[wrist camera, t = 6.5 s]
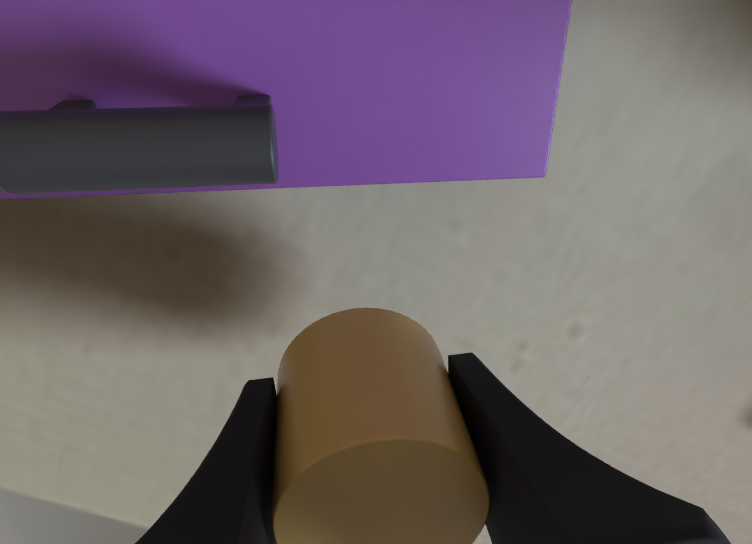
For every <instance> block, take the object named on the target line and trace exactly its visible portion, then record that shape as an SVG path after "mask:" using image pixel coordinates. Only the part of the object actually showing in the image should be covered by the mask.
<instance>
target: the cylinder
mask: <svg viewBox="0 0 752 544" xmlns="http://www.w3.org/2000/svg"><path fill="white" fill-rule="evenodd" d="M489 506H490V492H489V488H488V484H487V481H486V478H485V476H484V473H483V470H482V467H481V464H480V462H479V459H478V456H477V453H476V450H475V448H474V445H473V442H472V439H471V436H470V434H469V431H468V428H467V425H466V423H465V420H464V417H463V414H462V411H461V409H460V406H459V403H458V400H457V397H456V395H455V392H454V389H453V386H452V383H451V381H450V378H449V375H448V372H447V369H446V367H445V364H444V361H443V358H442V356H441V353H440V350H439V348H438V346H437V344H436V342H435V340H434V339H433V337H432V336H431V335H430V334H429V333H428V332H427V330H426V329H425V328H423V327H422V326H421V325H420V324H418V323H417V322H415V321H414V320H412V319H410V318H409V317H406V316H404V315H402V314H399V313H396V312H393V311H389V310H384V309H378V308H356V309H349V310H344V311H340V312H337V313H333V314H331V315H328V316H326V317H323V318H321V319H320V320H318V321H316V322H314V323H312V324H311V325H310V326H308V327H307V328H305V329H304V330H303V331H302V332H301V333H300V334H299V335H298V336H297V337H296V338H295V339H294V340H293V341H292V342H291V344H290V345H289V346H288V348H287V350H286V351H285V353H284V355H283V357H282V360H281V362H280V366H279V370H278V383H277V409H276V432H275V453H274V477H273V500H272V532H273V536H274V539H275V542H276V544H472V543H473V542H474V541H475V539H476V538H477V537H478V535H479V534H480V532H481V530H482V528H483V526H484V525H485V522H486V519H487V516H488V513H489Z"/></svg>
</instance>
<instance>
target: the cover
mask: <svg viewBox="0 0 752 544" xmlns="http://www.w3.org/2000/svg"><path fill="white" fill-rule="evenodd" d="M571 3H572V0H0V200H3V199H28V198H52V197H76V196H100V195H125V194H149V193H173V192H197V191H222V190H246V189H270V188H294V187H319V186H343V185H367V184H391V183H416V182H440V181H464V180H488V179H513V178H537V177H545V176H546V171H547V164H548V157H549V151H550V144H551V137H552V130H553V124H554V117H555V110H556V103H557V97H558V90H559V83H560V77H561V70H562V63H563V56H564V50H565V43H566V36H567V30H568V23H569V16H570V9H571Z"/></svg>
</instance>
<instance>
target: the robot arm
mask: <svg viewBox="0 0 752 544" xmlns="http://www.w3.org/2000/svg"><path fill="white" fill-rule="evenodd" d="M448 375H449V378H450V381H451V383H452V386H453V389H454V392H455V395H456V397H457V400H458V403H459V406H460V409H461V411H462V414H463V417H464V420H465V423H466V425H467V428H468V431H469V434H470V436H471V439H472V442H473V445H474V448H475V450H476V453H477V456H478V459H479V462H480V464H481V467H482V470H483V473H484V476H485V478H486V481H487V484H488V488H489V492H490V506H489V513H488V516H487V519H486V522H485V524H486V527H487V529H488V532H489V535H490V538H491V541H492V544H731V543H730V542H729V540H728V539H727V538H726V536H725V535H724V533H723V532H722V531H721V530H720V528H719V527H718V526H717V524H716V523H715V522H714V521H713V520H712V519H711V518H710V517H709V515H708V514H707V513H706V512H705V511H704V509H703V508H700V507H698V506H696V505H693V504H691V503H688V502H686V501H683V500H681V499H678V498H676V497H674V496H671V495H669V494H666V493H664V492H661V491H659V490H657V489H655V488H653V487H651V486H648V485H646V484H644V483H642V482H640V481H638V480H636V479H634V478H632V477H630V476H628V475H626V474H624V473H622V472H621V471H619V470H617V469H615V468H613V467H611V466H610V465H608V464H606V463H605V462H603V461H601V460H599V459H598V458H596V457H594V456H593V455H591V454H589V453H588V452H586V451H585V450H583V449H581V448H580V447H578V446H577V445H576V444H574V443H573V442H571V441H570V440H568V439H567V438H565V437H564V436H563V435H561V434H560V433H559V432H557V431H556V430H555V429H553V428H552V427H551V426H549V425H548V424H547V423H546V422H545V421H543V420H542V419H541V418H540V417H538V416H537V415H536V414H535V413H534V412H533V411H531V410H530V409H529V408H528V407H527V406H526V405H525V404H523V403H522V402H521V401H520V400H519V399H518V398H517V397H516V396H515V395H514V394H513V393H512V392H510V391H509V390H508V389H507V388H506V387H505V386H504V385H503V384H502V383H501V382H500V381H499V380H498V379H497V378H496V377H495V376H494V375H493V374H492V373H491V371H490V370H489V369H488V368H487V367H486V366H485V365H484V364H483V363H482V362H481V361H480V360H479V359H478V358H477V357H476V356H475V355H474V354H473V353H464V354H456V355H448ZM276 409H277V395H276V390H275V385H274V379H273V377H272V378H264V379H256V380H249V381H248V382H247V383H246V384H245V385H244V388H243V390H242V392H241V395H240V397H239V399H238V401H237V403H236V405H235V407H234V409H233V411H232V413H231V415H230V417H229V419H228V420H227V422H226V424H225V426H224V428H223V429H222V431H221V433H220V435H219V436H218V438H217V440H216V441H215V443H214V445H213V446H212V448H211V450H210V451H209V453H208V454H207V456H206V457H205V459H204V460H203V462H202V463H201V465H200V466H199V468H198V469H197V471H196V472H195V474H194V475H193V476H192V478H191V479H190V481H189V482H188V483H187V485H186V486H185V487H184V489H183V490H182V491H181V492H180V494H179V495H178V496H177V498H176V499H175V500H174V501H173V503H172V504H171V505H170V506H169V507H168V508H167V510H166V511H165V512H164V513H163V514H162V515H161V516H160V518H159V519H158V520H157V521H156V522H155V523H154V524H153V526H152V527H151V528H150V529H149V530H148V531H147V532H146V533H145V534H144V535H143V536H142V537H141V538H140V539H139V540H138V541H137V542H136V543H135V544H276V542H275V539H274V536H273V532H272V500H273V477H274V453H275V432H276Z"/></svg>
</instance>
